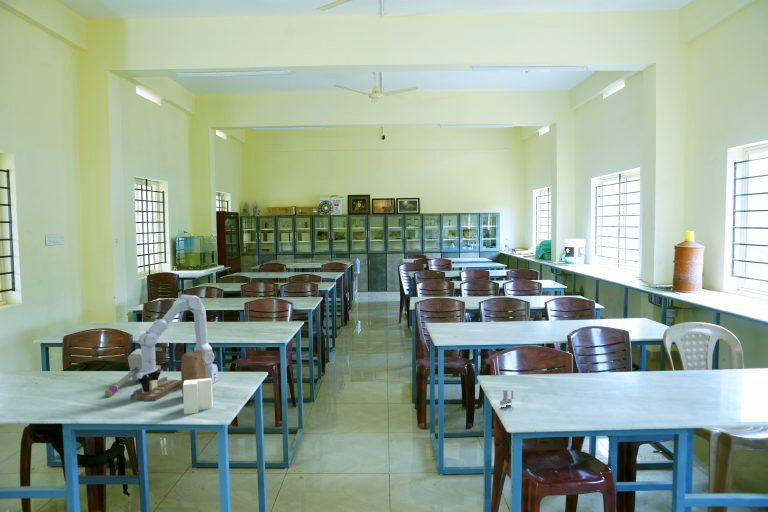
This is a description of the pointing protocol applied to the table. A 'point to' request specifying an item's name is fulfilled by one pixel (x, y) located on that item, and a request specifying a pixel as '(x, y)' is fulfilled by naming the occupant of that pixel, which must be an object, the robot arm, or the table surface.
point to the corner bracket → (197, 395)
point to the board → (162, 383)
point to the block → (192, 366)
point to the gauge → (153, 387)
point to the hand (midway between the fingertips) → (149, 389)
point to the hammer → (135, 368)
